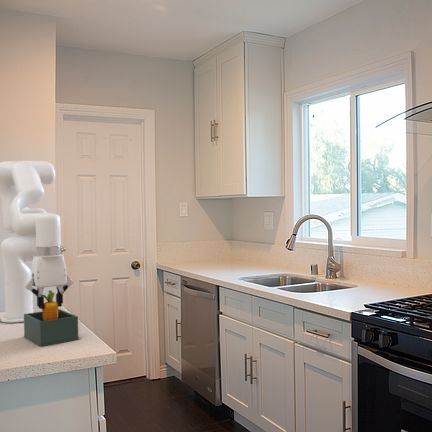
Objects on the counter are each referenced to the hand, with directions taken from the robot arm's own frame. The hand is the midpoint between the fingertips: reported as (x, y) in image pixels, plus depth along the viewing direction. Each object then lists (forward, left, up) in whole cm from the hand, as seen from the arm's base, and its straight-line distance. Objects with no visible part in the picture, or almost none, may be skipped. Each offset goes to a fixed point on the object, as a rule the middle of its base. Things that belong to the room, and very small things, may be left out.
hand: (50, 306), depth 177 cm
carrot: (0, 0, -10) cm, 10 cm away
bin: (0, 0, -10) cm, 10 cm away
